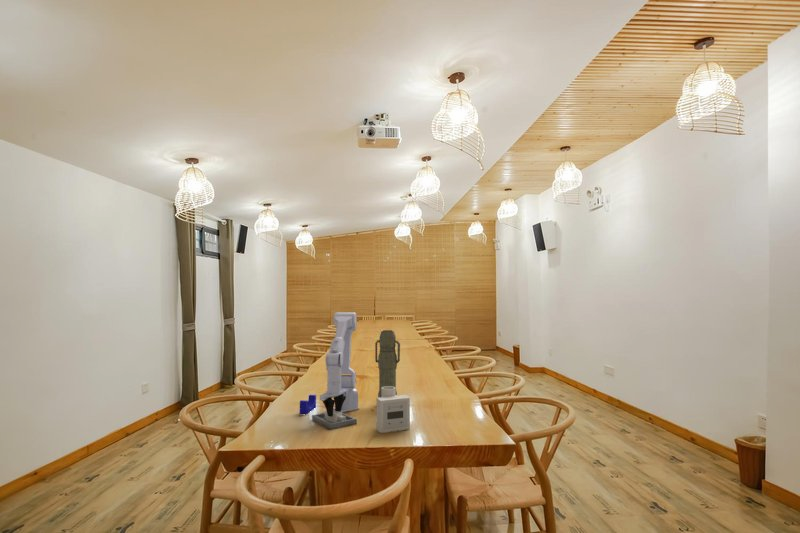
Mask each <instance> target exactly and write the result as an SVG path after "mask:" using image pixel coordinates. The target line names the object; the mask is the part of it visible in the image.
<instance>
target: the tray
mask: <svg viewBox="0 0 800 533" xmlns="http://www.w3.org/2000/svg"><path fill="white" fill-rule="evenodd" d="M342 415H343V416H346V420H344V421H340V422H336V423H334V422H330V421H326V420H325V412H322V413H317V414H312V415H311V420H312V421H313V422H315V423H316V424H319V425H321V426H323V427H324V428H326V429H328V430H336V429H339V428H344V427H349V426H353V425H357V424H358V423H357V422H358V418H355V417H353V416H351V415H349V414H346V413H345V412H342Z"/></svg>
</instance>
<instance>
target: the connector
mask: <svg viewBox="0 0 800 533" xmlns="http://www.w3.org/2000/svg"><path fill="white" fill-rule="evenodd" d="M324 413H325V420H326V421H330V422H334V423H336V422H340V421H344V420H346V416H343V415H342V413H343V412H339V411H335V409H333V416H332V417H330V416H328V414H327V410H326V409H325V410H324Z"/></svg>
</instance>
